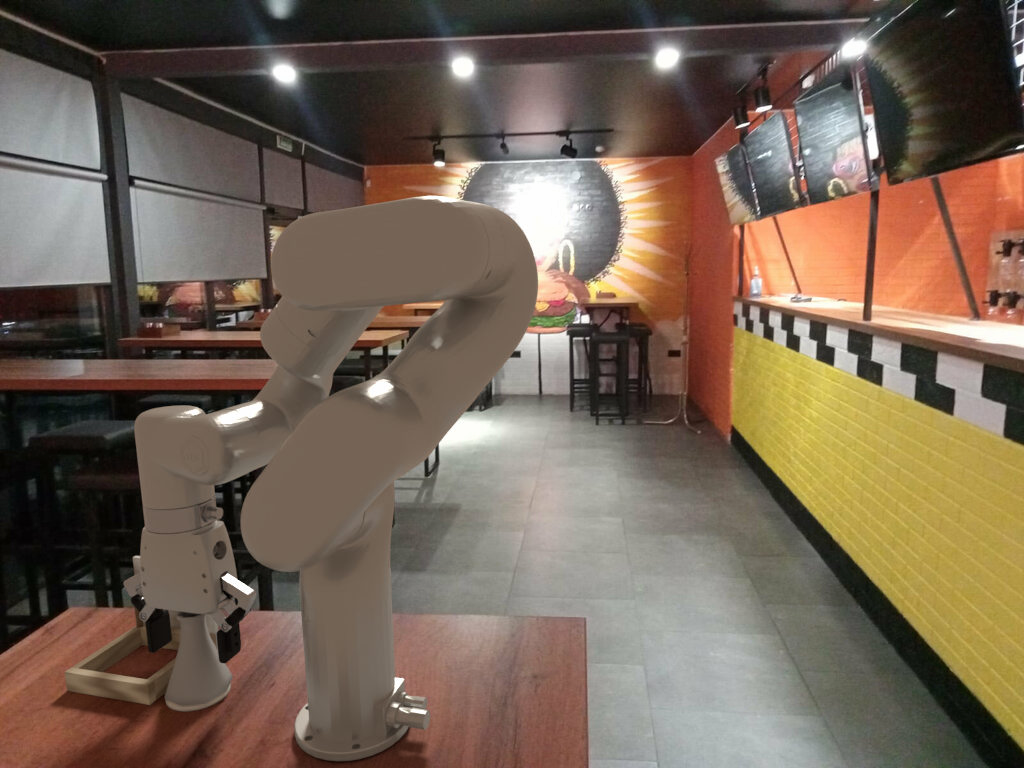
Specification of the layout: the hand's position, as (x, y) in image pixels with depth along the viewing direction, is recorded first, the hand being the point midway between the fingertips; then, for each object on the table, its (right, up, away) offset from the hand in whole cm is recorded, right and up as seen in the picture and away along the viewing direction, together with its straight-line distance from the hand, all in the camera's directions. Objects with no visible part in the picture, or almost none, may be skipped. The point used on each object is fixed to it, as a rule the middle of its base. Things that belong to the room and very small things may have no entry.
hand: (195, 652), depth 85 cm
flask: (0, -5, +1) cm, 5 cm away
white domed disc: (0, -5, +1) cm, 5 cm away
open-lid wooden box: (-9, -5, +6) cm, 12 cm away
